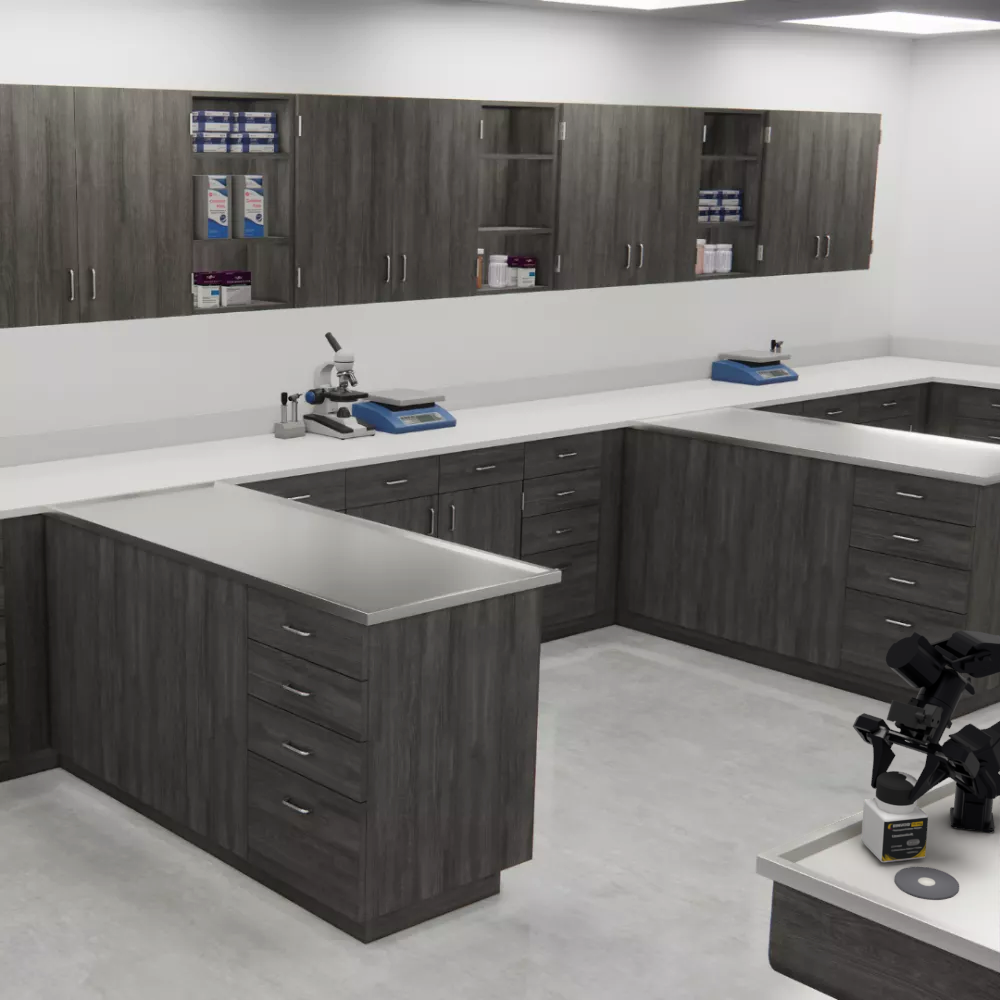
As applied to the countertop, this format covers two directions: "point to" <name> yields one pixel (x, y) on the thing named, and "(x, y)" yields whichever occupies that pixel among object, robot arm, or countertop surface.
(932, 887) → the pad
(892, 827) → the medicine bottle
